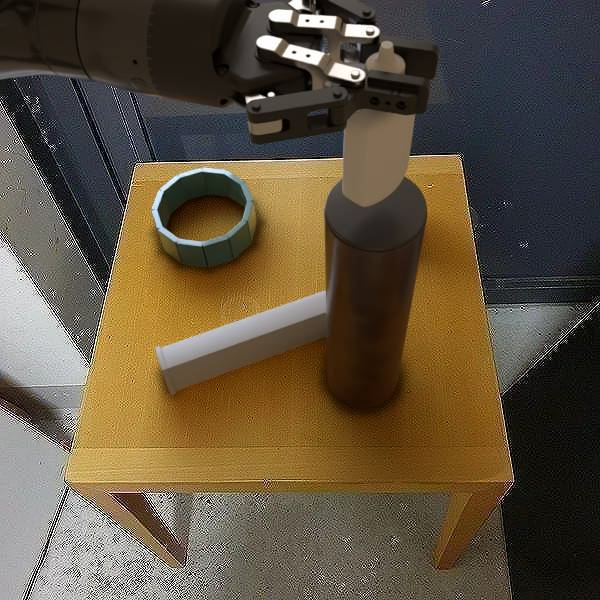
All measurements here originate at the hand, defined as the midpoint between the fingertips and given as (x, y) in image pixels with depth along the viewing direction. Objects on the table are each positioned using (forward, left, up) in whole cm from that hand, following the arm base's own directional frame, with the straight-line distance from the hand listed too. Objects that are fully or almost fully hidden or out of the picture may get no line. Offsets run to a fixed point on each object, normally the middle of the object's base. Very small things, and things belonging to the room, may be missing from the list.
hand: (431, 79), depth 42 cm
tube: (-14, +3, -43) cm, 45 cm away
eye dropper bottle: (-3, 0, -10) cm, 11 cm away
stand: (-3, 0, -43) cm, 43 cm away
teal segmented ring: (-26, +18, -43) cm, 53 cm away
